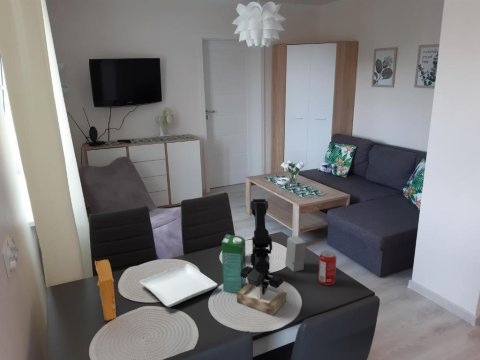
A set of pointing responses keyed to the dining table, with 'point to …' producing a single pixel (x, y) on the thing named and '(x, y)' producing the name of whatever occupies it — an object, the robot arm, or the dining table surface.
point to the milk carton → (233, 263)
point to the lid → (260, 294)
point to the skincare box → (295, 253)
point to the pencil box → (261, 305)
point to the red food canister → (327, 267)
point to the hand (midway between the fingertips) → (261, 294)
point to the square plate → (178, 284)
